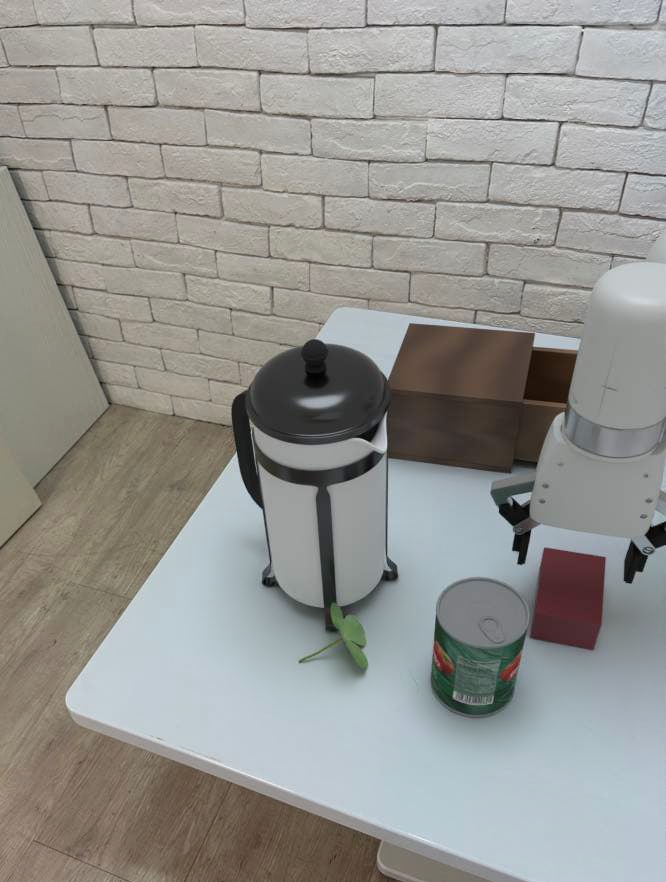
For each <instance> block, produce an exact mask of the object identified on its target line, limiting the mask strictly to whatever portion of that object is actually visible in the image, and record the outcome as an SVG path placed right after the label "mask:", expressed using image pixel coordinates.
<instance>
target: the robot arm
mask: <svg viewBox="0 0 666 882" xmlns="http://www.w3.org/2000/svg"><path fill="white" fill-rule="evenodd" d="M584 317H585V318H584V322H583V326H582V331H581V336H580V340H579V346H578V349H577V350H578V354H577V359H576V363H575V368H574V373H573V377H572V382H571V386H570V391H569V395H568V400H567V405H566V409H565V412H563V413H560V414H559V415H557V416H556V417H555V419H554V421H553V422H552V424H551V426H550V428H549V431H548V433H547V436H546V438H545V441H544V444H543V447H542V450H541V453H540V457H539V461H538V462H537V464H536V468H535V471H533V472H529V473H523V474H520V475H515V476H511V477H507V478H501V479H497V480H494V481H492V482H491V486H490V491H489V492H490V496H491V498H492V499H493V500H492V501H493V502H494V504H495V506H497V508H498V514H499V515H500V516H501V517H502V518H503V519H504V520H505V521H506V522H507V523H508V524H509V525H510V526H511V527H512V532H513V533H514V535H513V541H512V546H511V551H512V552H516V553H518V556H517V561H516V565H518V566H523V565H525V564H526V559H527V556H528V552H529V551H528V550H529V546H530V541H531V536H532V530H533V529H534V528H537V527H539V526H540V525H543V526H547V527H552V528H558V529H562V530H568V531H574V532H582V533H588V534H595V535H601V536H607V537H615V538H623V539H630V542H629V545H628V548H627V551H626V554H625V557H624V560H623V582H624V583H625V584H627V585H628V584H629V585H632V584H633V582H634V579H635V577H636V573H643V572H644V569H645V566H646V564H647V561H648V559H649V556H652V555H654V554H655V553H656V552H657V551H656V550H657V549H659V548H662V547H664V546H666V520H665V521H662V522H660V523H658V524H655V525H654V524H653V523H652V522H653V519H654V516H655V512H658V513H660V514H661V515H663V516H665V517H666V492H665V491H663V490H661V488H662V484H663V479H664V472H665V466H666V228H665V229H664V230H663V231H662V232H661V233H660V234H659V236H658V237H657V238H656V241H655V242H653V245H652V246H651V247H650V249H649V251H648V252H647V255H646V257H645V259H644V261H638V262H637V261H636V262H629V263H625V264H620V265H618V266H615V267H613V268H611V269H609V270H607V271H606V272H605V273H604V274H602V275H601V276H600V277H599V278H598V279H597V281H596V282H595V284H594V285H593V287H592V290H591V292H590V296H589V300H588V304H587V308H586V313H585V316H584ZM528 493H531V495H530V499H528V500H527V501H525V502H523V503H522V504H520V503H519V502H518V501H517V500H516V499H515V498H514V496H519V495H523V494H528Z"/></svg>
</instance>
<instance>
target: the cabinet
mask: <svg viewBox="0 0 666 882" xmlns="http://www.w3.org/2000/svg"><path fill="white" fill-rule="evenodd" d="M405 331H406V332H405V334H404V336H403V339H402V342H401V345H400V347H399V350H398V352H397V355H396V358H395V360H394V363H393V366H392V368H391V371H390V374H389V376H388V378H387V380H388V382H389V385H390V390H391V399H390V405H389V408H388V410H387V419H388V459H396V460H404V461H412V462H421V463H427V464H435V465H436V464H437V465H443V466H450V467H459V468H464V469H465V468H466V469H474V470H481V471H491V472H496V473H497V472H498V473H505V474H512V472H513V467H514V461H515V459H514V453H515V447H516V441H517V434H518V428H519V421H520V415H521V409H522V402H523V397H524V392H525V386H526V381H527V375H528V370H529V365H530V359H531V354H532V348H533V347H534V342H535V338H536V333H535V332H527V331H526V332H525V331H517V330H515V331H514V330H501V329H490V328H479V327H462V326H450V325H438V324H428V323H427V324H426V323H413V322H409V323H408V326H407V329H406V330H405Z"/></svg>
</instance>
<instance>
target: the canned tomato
mask: <svg viewBox="0 0 666 882" xmlns="http://www.w3.org/2000/svg"><path fill="white" fill-rule="evenodd" d="M530 621H531V612H530V608H529V605H528V602H527V601H526V599H525V597H524V596H523V595H522V594H521V593H520V592H519V591H518V590H517V589H516V588H514V587H513V586H511V585H510V584H508V583H506V582H504V581H502V580H499V579H495V578H490V577H483V576H475V577H474V576H473V577H466V578H461V579H459V580H457V581H454V582H452V583H451V584H449V585H447V586H446V587H445V588H444V589H443V590H442V592H441V593H440V595H439V596H438V598H437V601H436V604H435V622H434V632H433V645H432V655H431V656H432V658H431V668H430V669H431V670H430V675H429V682H430V688H431V690H432V693H433V695H434V696H435V698H436V699H437V701H438V702H439V703H440V704H441V705H442V706H443V707H445V708H446V709H448V710H449V711H451V712H453V713H455V714H457V715H460V716H464V717H469V718H487V717H491V716H493V715H495V714H498V713H500V712H501V711H502V710H504V709H505V708H506V707H507V706H508V705H509V704H510V702H511V701H512V699H513V697H514V693H515V687H516V683H517V678H518V674H519V669H520V665H521V661H522V656H523V651H524V646H525V641H526V638H527V637H526V636H527V633H528V628H529V625H530Z"/></svg>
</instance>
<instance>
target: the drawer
mask: <svg viewBox="0 0 666 882" xmlns="http://www.w3.org/2000/svg"><path fill="white" fill-rule="evenodd" d="M578 350H579V349H566V348H557V347H556V348H554V347H544V346H543V347H542V346H533V348H532V354H531V359H530V365H529V370H528V375H527V381H526V386H525V392H524V397H523V402H522V409H521V415H520V421H519V428H518V434H517V441H516V447H515V453H514V460H516V461H517V460H519V461H524V462H525V461H526V462H535V463H538V461H539V457H540V453H541V450H542V447H543V444H544V441H545V438H546V436H547V433H548V431H549V428H550V426H551V424H552V422H553V421H554V419H555V417H556V416H557V415H559V414H560V413H563V412H565V409H566V405H567V400H568V395H569V391H570V386H571V382H572V377H573V373H574V368H575V363H576V359H577V354H578Z"/></svg>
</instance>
